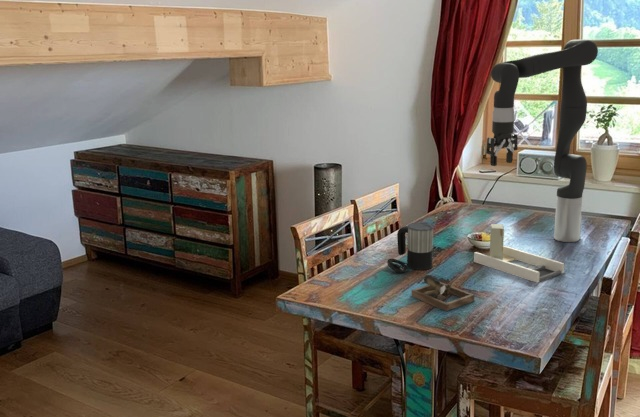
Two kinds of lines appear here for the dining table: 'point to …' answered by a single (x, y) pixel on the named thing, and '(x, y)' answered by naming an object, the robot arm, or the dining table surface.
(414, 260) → the milk frother
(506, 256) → the pad
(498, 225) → the skincare box
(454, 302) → the display frame
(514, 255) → the channel
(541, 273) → the tray
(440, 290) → the eagle figurine
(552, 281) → the dining table surface
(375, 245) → the dining table surface
